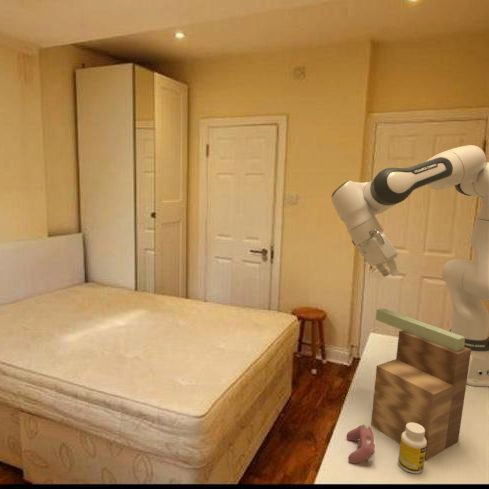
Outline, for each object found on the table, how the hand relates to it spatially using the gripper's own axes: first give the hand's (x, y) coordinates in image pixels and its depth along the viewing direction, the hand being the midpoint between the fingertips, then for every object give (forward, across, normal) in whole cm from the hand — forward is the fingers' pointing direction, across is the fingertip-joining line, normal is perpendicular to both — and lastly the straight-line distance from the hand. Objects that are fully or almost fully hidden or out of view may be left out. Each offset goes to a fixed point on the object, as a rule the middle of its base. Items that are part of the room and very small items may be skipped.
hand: (391, 275), depth 115 cm
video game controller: (+32, -15, +32) cm, 48 cm away
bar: (+16, -6, +4) cm, 17 cm away
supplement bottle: (+38, -18, +23) cm, 48 cm away
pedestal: (+38, -6, +17) cm, 42 cm away
